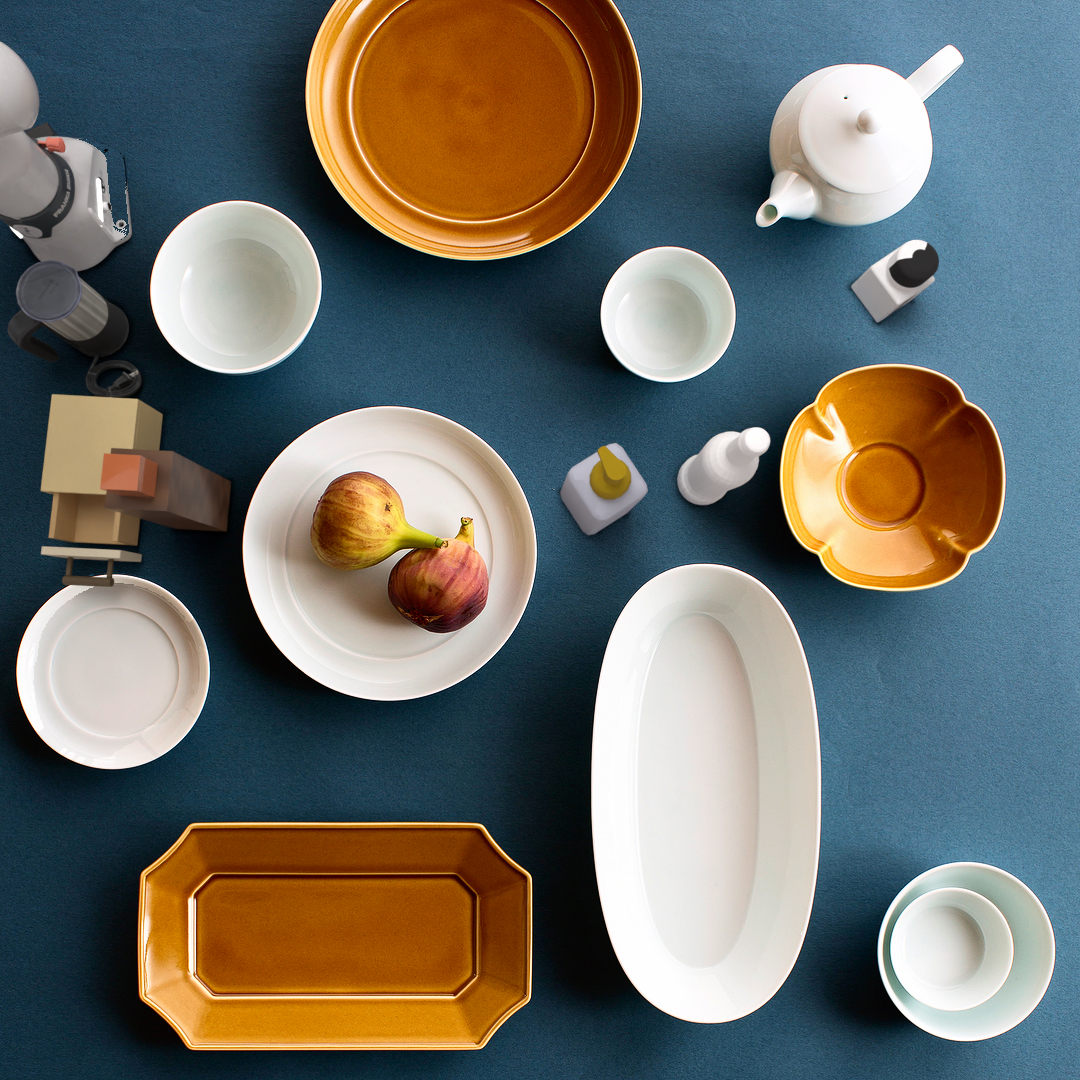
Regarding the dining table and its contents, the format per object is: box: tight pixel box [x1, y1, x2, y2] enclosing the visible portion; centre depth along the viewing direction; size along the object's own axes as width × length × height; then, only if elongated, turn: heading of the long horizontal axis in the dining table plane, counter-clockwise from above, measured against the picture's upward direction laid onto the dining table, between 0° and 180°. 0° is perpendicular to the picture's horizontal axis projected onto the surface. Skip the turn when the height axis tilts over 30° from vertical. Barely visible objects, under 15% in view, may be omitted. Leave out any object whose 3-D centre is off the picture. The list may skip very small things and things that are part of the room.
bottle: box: [676, 426, 771, 506], centre depth 114 cm, size 8×8×30 cm
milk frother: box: [7, 260, 143, 398], centre depth 119 cm, size 14×16×15 cm
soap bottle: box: [559, 442, 649, 536], centre depth 115 cm, size 9×9×25 cm
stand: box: [105, 448, 232, 533], centre depth 114 cm, size 8×8×22 cm
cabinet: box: [40, 393, 164, 495], centre depth 121 cm, size 15×13×9 cm
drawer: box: [40, 492, 143, 588], centre depth 119 cm, size 18×11×7 cm, turn 177°
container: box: [850, 239, 940, 323], centre depth 127 cm, size 8×8×13 cm
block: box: [100, 453, 158, 497], centre depth 100 cm, size 4×4×5 cm
